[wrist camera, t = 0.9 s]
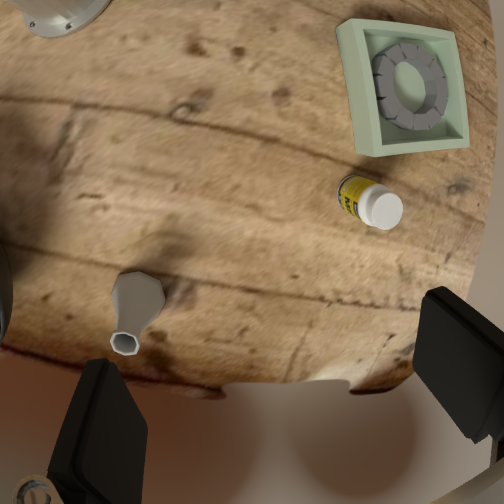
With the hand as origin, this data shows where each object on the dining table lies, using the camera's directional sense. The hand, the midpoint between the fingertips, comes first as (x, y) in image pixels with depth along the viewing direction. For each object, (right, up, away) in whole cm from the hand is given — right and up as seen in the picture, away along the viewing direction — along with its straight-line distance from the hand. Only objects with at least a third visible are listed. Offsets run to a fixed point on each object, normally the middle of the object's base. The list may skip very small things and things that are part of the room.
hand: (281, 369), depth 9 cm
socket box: (+18, +24, +25) cm, 39 cm away
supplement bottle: (+12, +11, +30) cm, 34 cm away
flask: (-15, -2, +30) cm, 34 cm away
